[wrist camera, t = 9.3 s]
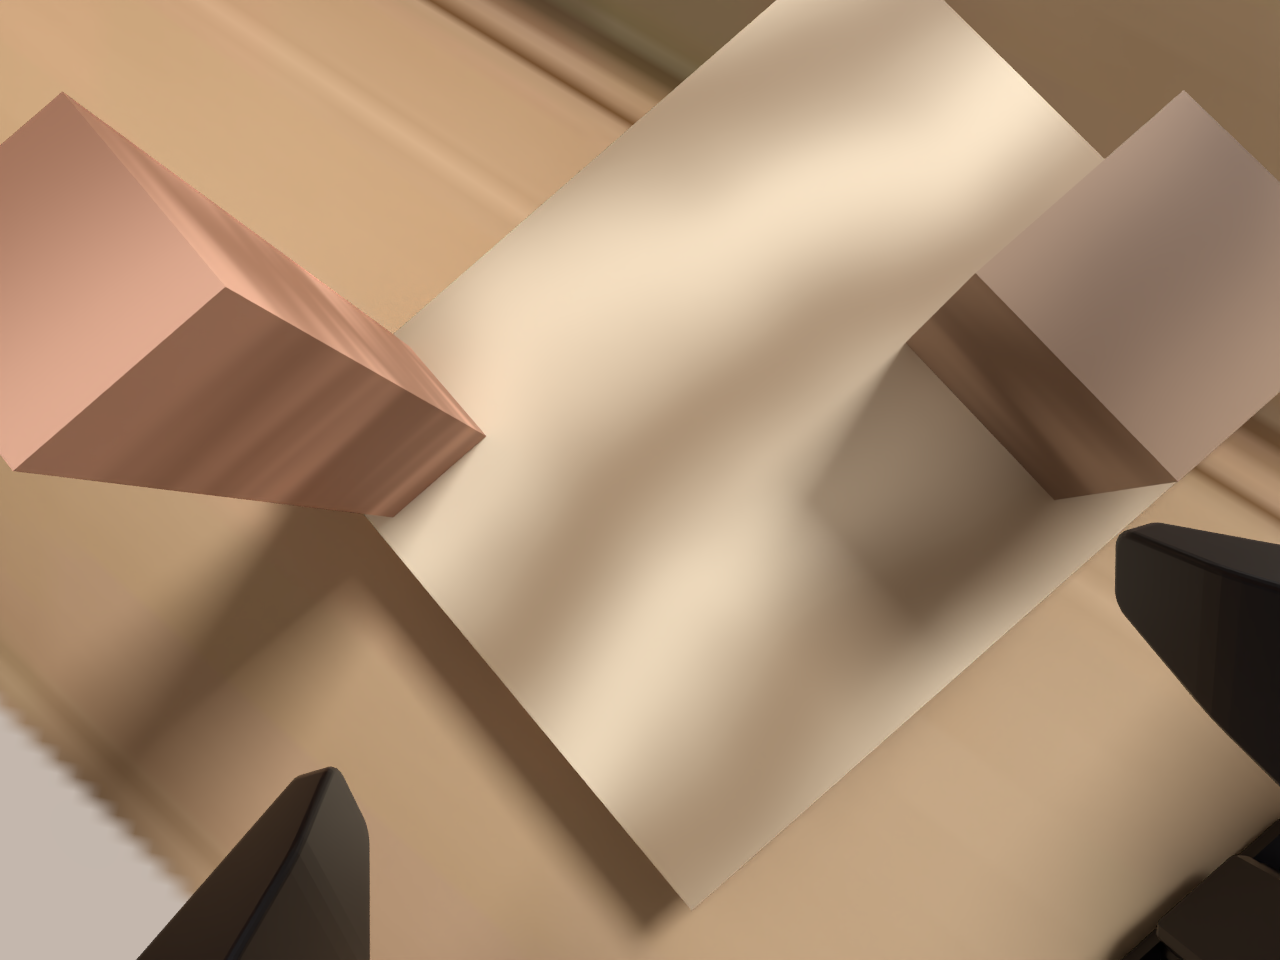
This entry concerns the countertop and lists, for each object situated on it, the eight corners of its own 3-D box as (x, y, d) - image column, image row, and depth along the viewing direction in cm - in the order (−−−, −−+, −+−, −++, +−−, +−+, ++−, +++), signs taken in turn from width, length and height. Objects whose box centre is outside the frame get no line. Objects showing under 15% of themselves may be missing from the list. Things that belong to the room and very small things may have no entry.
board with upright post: (1266, 376, 21) (2195, 88, 8) (691, 885, 21) (690, 1436, 8) (854, -36, 22) (1070, -831, 10) (316, 432, 22) (-203, 266, 9)
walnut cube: (1214, 358, 20) (1393, 291, 15) (1054, 499, 20) (1177, 481, 15) (1062, 205, 20) (1183, 90, 15) (905, 343, 20) (975, 272, 15)
